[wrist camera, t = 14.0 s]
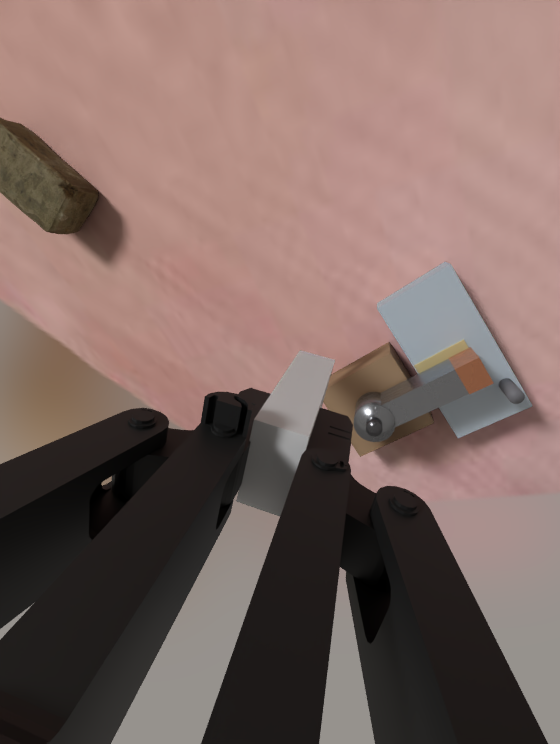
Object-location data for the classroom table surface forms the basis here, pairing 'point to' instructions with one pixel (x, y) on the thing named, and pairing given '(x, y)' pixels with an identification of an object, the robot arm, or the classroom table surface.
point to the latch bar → (419, 395)
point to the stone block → (42, 181)
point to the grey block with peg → (452, 345)
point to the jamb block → (365, 377)
